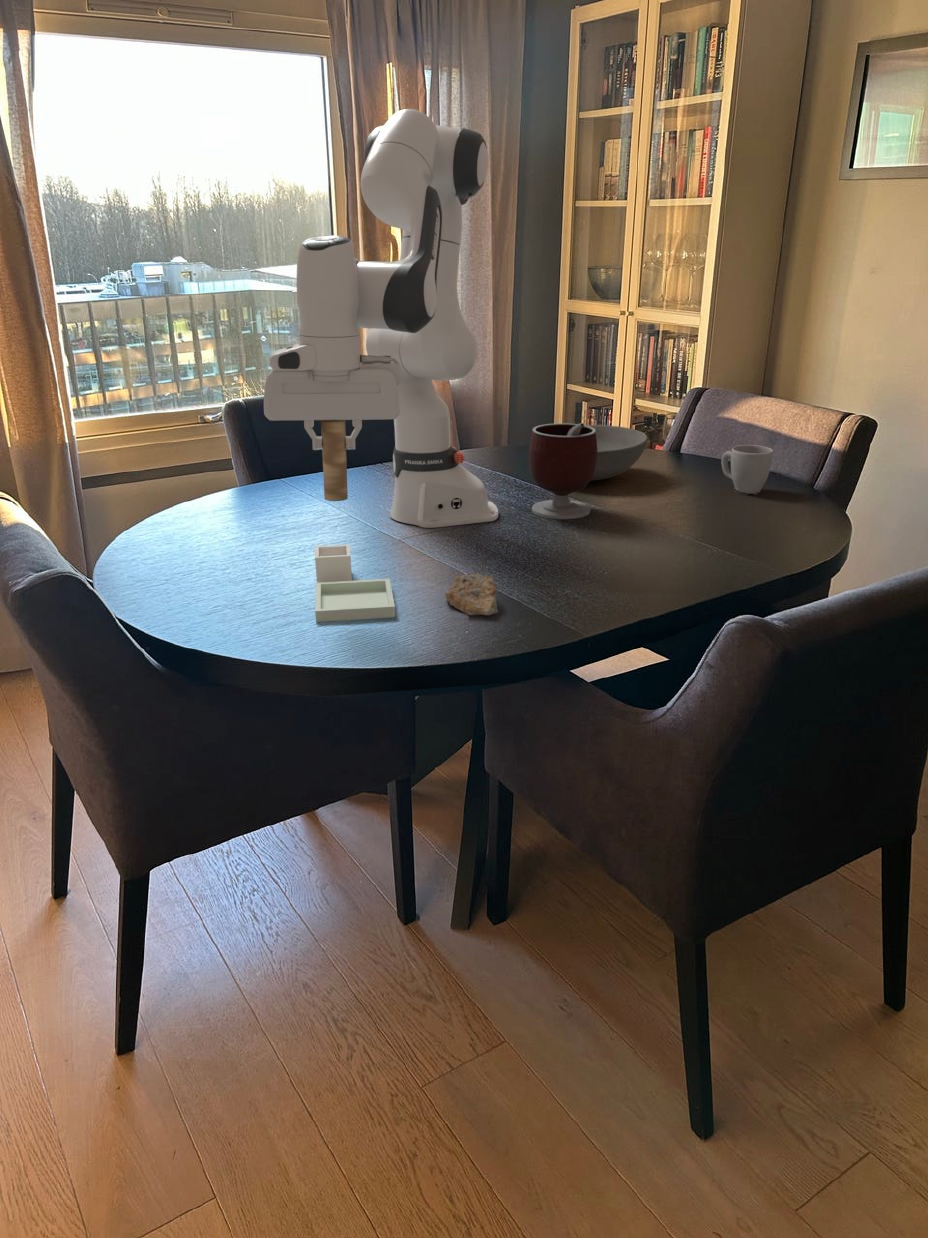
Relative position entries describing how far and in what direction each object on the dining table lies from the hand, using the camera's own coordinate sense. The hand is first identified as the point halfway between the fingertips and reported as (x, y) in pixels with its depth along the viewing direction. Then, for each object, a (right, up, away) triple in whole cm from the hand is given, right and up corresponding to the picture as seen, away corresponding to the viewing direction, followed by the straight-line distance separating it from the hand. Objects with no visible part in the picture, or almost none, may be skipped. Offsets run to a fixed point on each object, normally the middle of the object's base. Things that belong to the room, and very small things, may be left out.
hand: (334, 448), depth 140 cm
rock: (+22, -24, +6) cm, 33 cm away
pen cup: (-2, -20, +16) cm, 25 cm away
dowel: (0, -7, +3) cm, 8 cm away
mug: (+83, +3, +68) cm, 107 cm away
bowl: (+50, +8, +79) cm, 94 cm away
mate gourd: (+41, -4, +53) cm, 67 cm away
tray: (+3, -24, +5) cm, 25 cm away
